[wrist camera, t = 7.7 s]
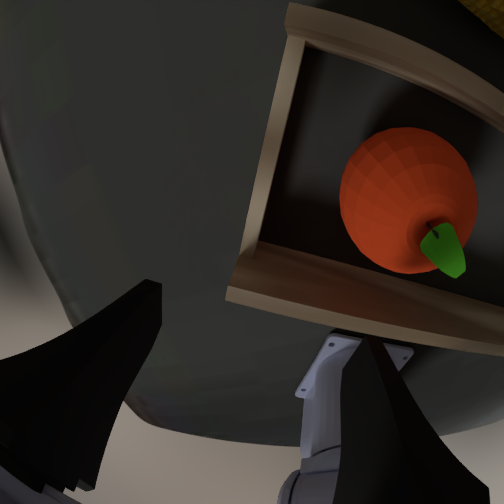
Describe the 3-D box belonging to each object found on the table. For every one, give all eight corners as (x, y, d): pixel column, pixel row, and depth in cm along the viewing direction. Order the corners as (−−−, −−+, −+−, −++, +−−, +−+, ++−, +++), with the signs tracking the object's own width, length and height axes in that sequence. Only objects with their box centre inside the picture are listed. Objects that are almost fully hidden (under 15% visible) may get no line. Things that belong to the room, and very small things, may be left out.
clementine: (469, 195, 15) (529, 255, 9) (391, 261, 18) (419, 342, 12) (393, 93, 13) (452, 102, 7) (307, 175, 16) (308, 233, 10)
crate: (518, 321, 19) (538, 360, 15) (243, 250, 20) (225, 300, 15) (587, 192, 11) (622, 219, 7) (293, 26, 12) (289, 2, 8)
